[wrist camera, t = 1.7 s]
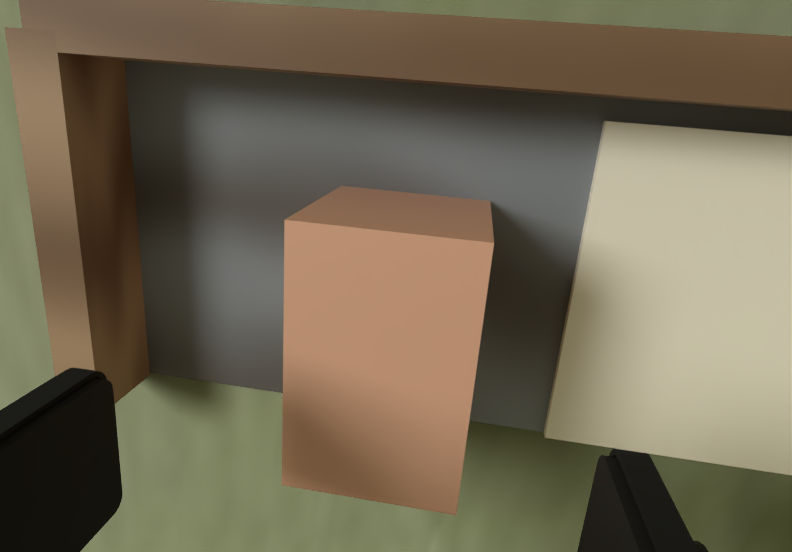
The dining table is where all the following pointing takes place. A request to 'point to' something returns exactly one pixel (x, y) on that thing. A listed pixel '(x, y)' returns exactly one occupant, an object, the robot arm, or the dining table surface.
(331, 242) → the block
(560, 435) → the pad
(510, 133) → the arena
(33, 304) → the dining table surface
